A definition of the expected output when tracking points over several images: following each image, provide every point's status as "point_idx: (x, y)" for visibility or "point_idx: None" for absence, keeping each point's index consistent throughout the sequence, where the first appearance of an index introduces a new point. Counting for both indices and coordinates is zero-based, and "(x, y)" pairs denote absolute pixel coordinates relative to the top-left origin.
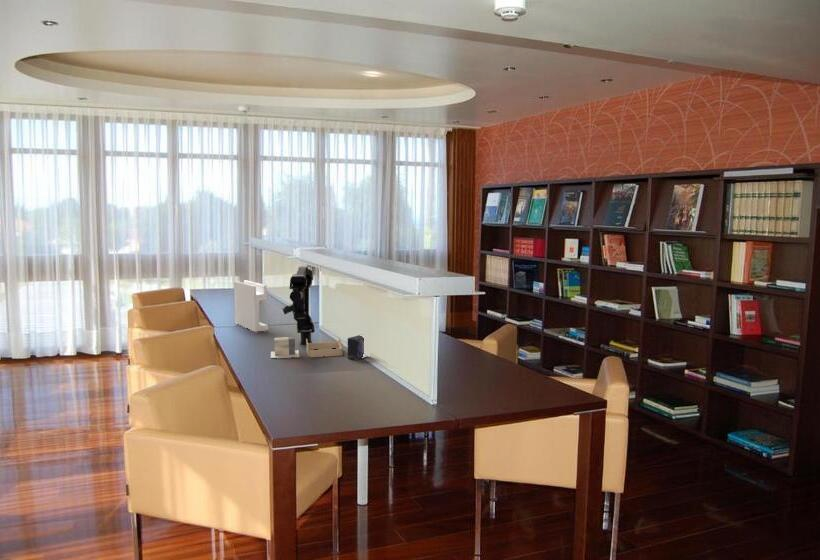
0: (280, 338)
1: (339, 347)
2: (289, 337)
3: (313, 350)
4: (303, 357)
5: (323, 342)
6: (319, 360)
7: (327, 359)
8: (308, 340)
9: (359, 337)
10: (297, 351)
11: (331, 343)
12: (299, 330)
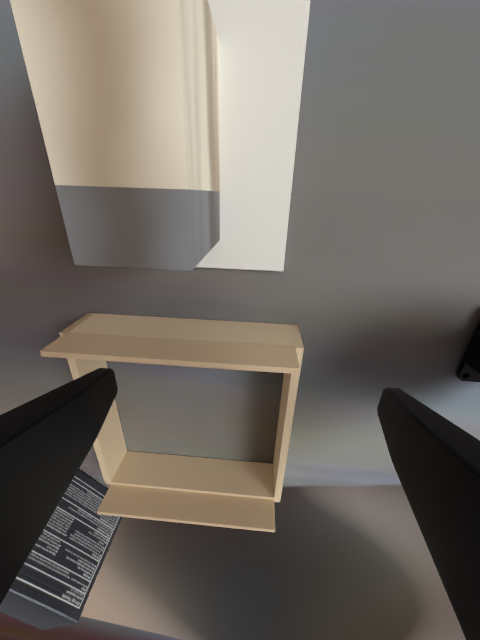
0: (111, 39)
1: (209, 475)
2: (170, 205)
3: (69, 362)
4: (90, 284)
5: (288, 441)
6: (22, 356)
7: (45, 391)
8: (476, 371)
9: (2, 607)
10: (238, 261)
11: (277, 466)
12: (98, 374)
